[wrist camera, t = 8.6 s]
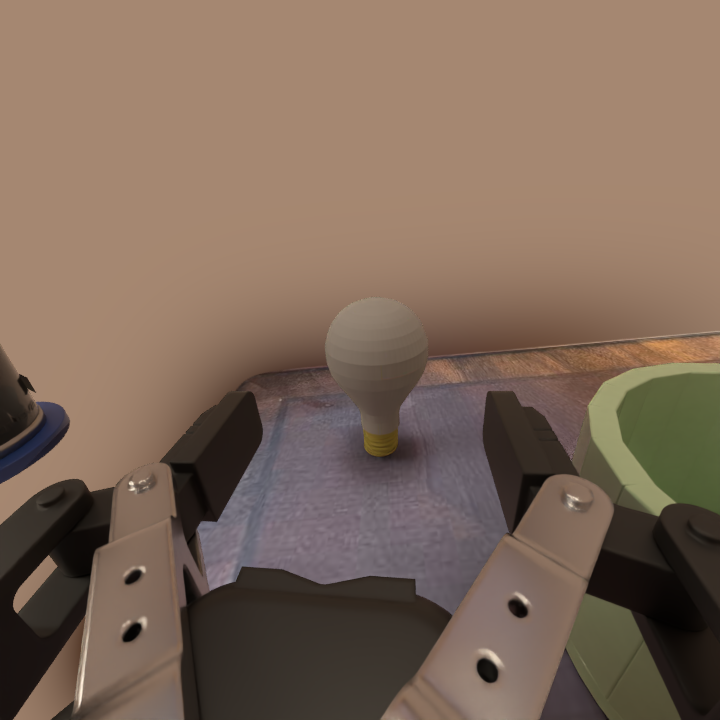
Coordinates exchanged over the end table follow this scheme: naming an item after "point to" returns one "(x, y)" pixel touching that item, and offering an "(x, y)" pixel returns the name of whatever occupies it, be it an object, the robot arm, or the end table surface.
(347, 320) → the light bulb
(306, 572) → the end table surface
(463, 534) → the end table surface
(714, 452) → the pot
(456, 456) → the end table surface
